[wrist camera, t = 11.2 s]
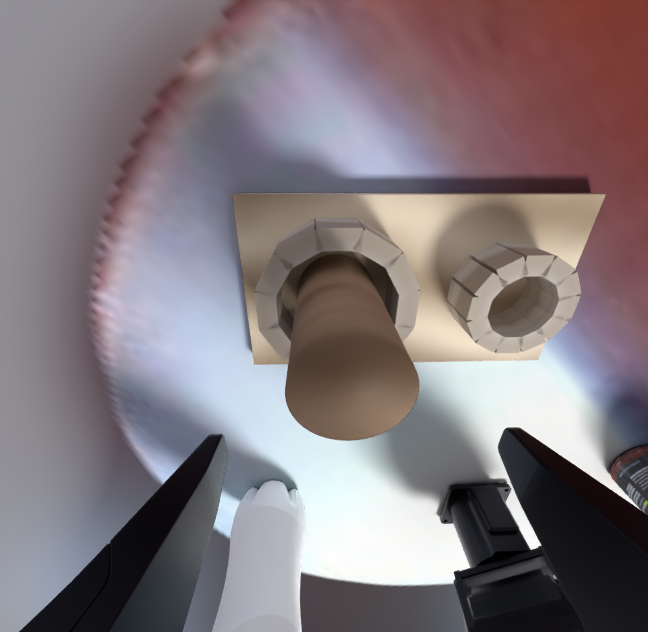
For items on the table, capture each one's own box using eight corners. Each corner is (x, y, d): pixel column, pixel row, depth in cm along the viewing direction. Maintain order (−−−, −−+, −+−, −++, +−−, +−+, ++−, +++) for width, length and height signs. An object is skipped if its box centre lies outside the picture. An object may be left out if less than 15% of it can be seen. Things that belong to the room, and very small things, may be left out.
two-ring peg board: (529, 352, 24) (566, 385, 21) (256, 356, 23) (246, 391, 20) (591, 192, 19) (657, 200, 15) (235, 193, 18) (216, 201, 14)
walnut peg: (369, 322, 21) (409, 439, 12) (299, 323, 21) (288, 441, 12) (375, 253, 19) (429, 336, 10) (296, 254, 19) (280, 338, 10)
